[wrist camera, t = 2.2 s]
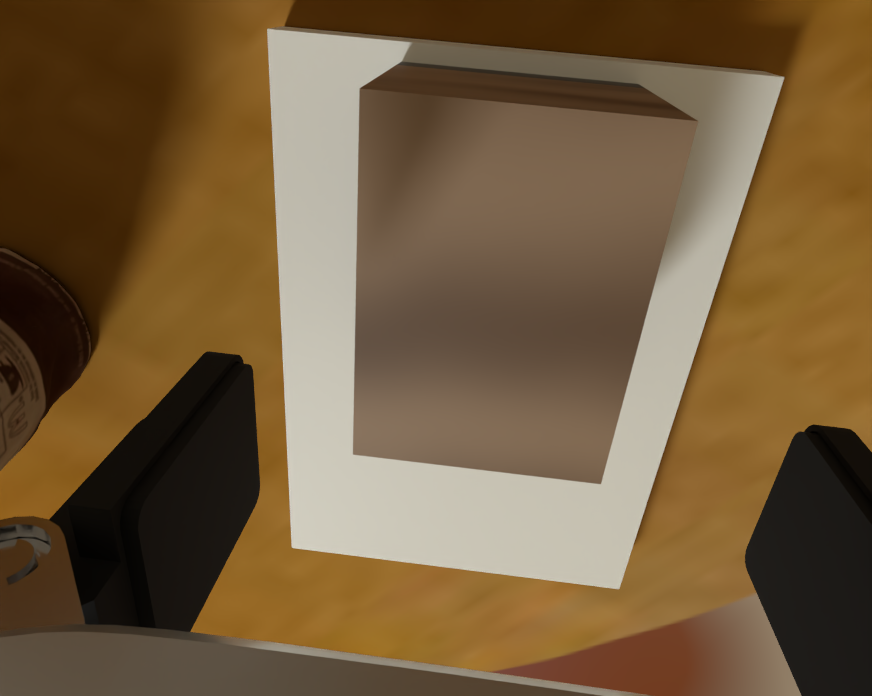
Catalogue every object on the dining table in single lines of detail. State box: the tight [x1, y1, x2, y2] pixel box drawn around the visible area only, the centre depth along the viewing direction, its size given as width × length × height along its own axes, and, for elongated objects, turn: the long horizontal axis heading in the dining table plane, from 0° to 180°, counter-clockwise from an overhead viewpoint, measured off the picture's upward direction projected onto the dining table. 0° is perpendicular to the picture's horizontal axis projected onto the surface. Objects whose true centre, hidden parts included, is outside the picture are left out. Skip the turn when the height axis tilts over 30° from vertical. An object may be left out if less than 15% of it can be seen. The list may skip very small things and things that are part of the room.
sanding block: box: [353, 62, 698, 484], centre depth 17 cm, size 9×6×6 cm
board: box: [267, 26, 784, 589], centre depth 23 cm, size 20×14×2 cm
